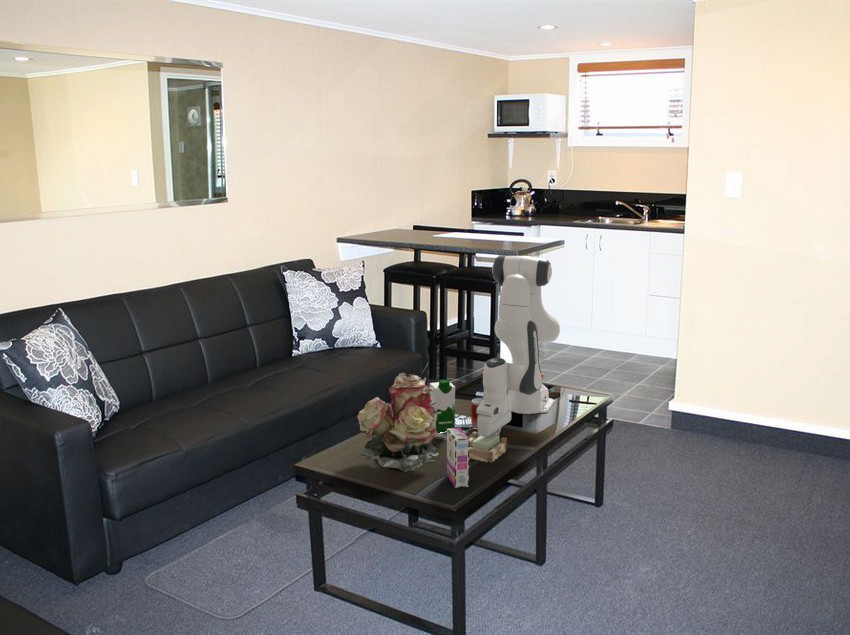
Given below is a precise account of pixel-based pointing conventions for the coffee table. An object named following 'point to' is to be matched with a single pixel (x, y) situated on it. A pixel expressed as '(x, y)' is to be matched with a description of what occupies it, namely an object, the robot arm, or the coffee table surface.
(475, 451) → the frame
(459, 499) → the coffee table surface
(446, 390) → the milk carton
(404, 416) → the rose bouquet
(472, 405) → the canned food
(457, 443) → the candy bar box
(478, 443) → the pale green box
